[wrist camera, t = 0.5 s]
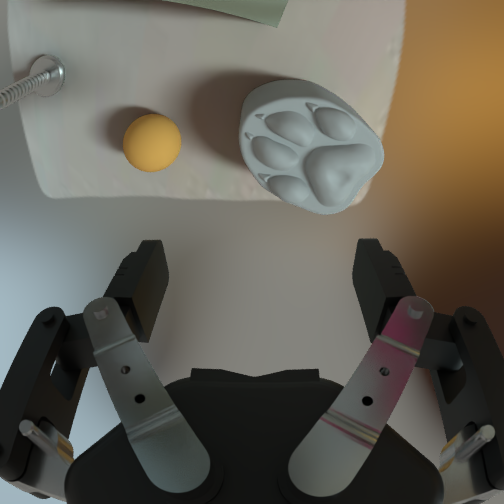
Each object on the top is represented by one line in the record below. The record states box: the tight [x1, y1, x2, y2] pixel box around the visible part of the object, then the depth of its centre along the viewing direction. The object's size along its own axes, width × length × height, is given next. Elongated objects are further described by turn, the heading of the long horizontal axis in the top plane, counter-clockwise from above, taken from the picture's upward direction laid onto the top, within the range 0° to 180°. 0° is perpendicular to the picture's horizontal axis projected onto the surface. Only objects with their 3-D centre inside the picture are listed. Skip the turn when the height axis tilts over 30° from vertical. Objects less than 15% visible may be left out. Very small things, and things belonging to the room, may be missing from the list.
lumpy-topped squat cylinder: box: [239, 80, 384, 215], centre depth 29 cm, size 10×13×9 cm
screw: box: [0, 55, 65, 110], centre depth 21 cm, size 13×5×5 cm
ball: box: [123, 114, 181, 172], centre depth 30 cm, size 6×6×6 cm
